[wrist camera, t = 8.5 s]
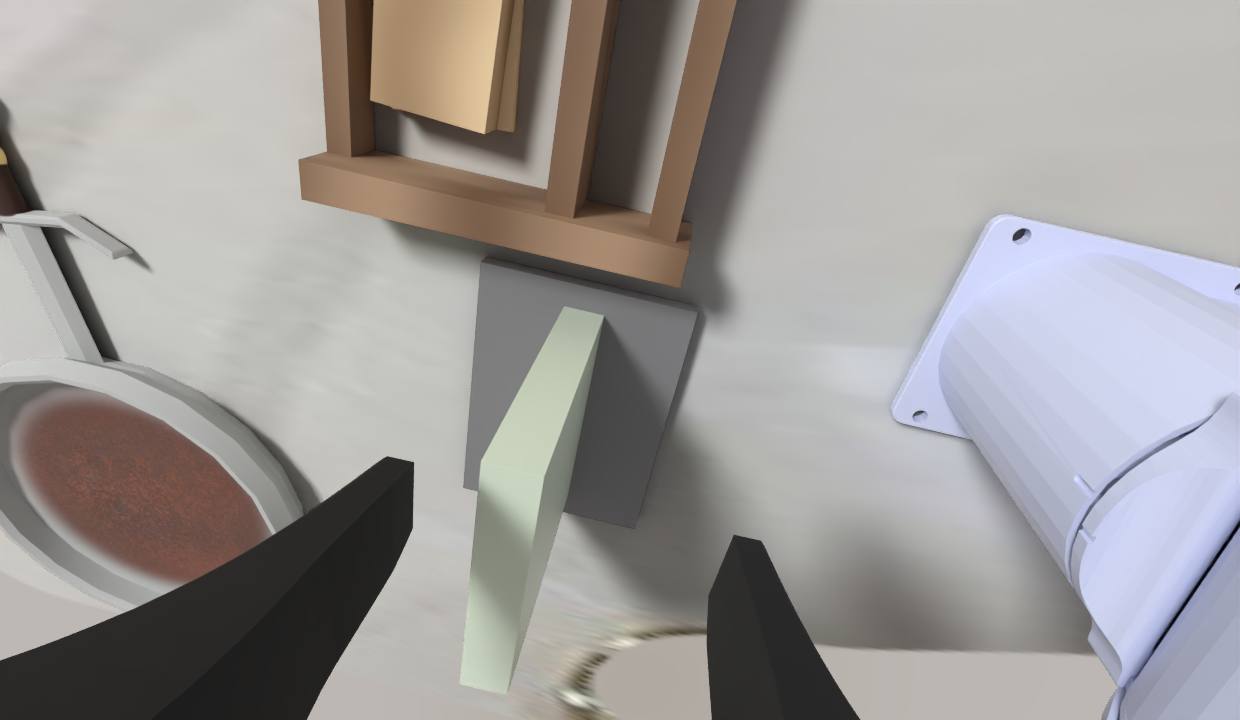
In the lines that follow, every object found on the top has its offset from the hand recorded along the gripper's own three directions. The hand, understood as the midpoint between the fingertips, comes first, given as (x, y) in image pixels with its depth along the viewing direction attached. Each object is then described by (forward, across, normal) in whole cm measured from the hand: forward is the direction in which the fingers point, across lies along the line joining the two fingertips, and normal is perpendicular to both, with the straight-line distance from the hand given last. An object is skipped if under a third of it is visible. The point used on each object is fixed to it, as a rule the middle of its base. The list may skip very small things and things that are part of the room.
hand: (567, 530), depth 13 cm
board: (+10, +1, +4) cm, 11 cm away
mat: (+10, +1, +4) cm, 11 cm away
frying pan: (+12, +22, +10) cm, 27 cm away
